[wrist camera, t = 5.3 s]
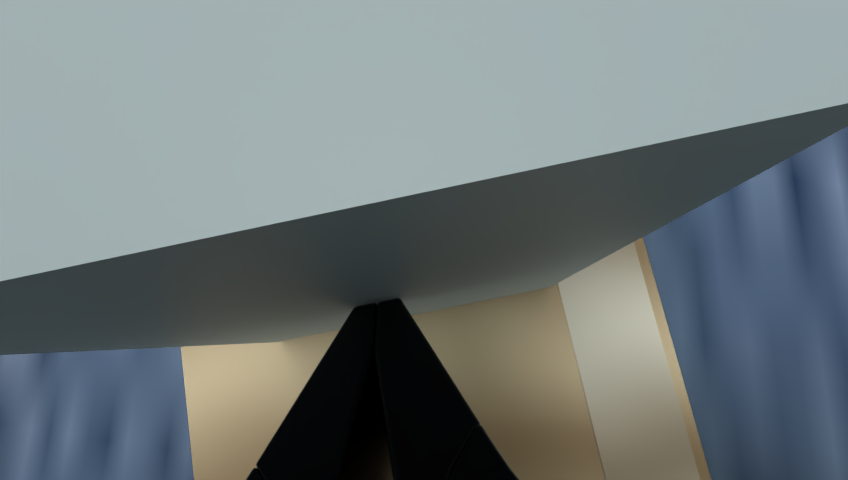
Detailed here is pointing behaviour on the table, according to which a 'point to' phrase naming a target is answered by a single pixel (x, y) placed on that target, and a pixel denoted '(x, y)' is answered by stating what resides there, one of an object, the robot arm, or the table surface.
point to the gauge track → (495, 381)
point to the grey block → (370, 151)
